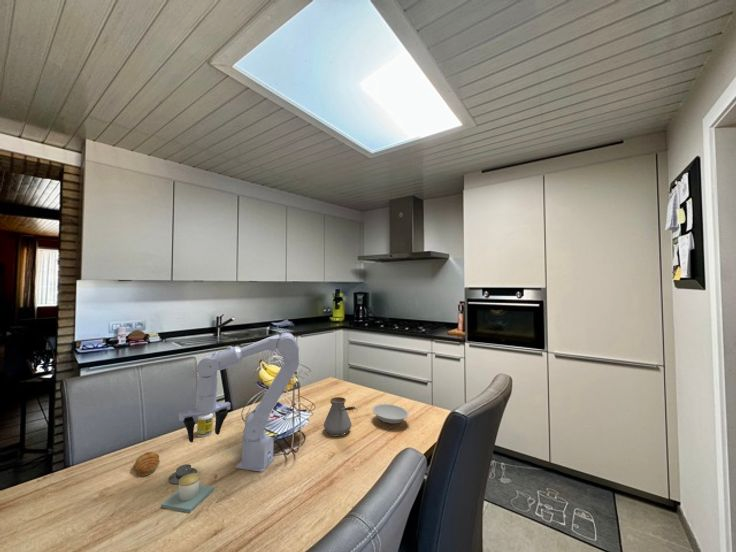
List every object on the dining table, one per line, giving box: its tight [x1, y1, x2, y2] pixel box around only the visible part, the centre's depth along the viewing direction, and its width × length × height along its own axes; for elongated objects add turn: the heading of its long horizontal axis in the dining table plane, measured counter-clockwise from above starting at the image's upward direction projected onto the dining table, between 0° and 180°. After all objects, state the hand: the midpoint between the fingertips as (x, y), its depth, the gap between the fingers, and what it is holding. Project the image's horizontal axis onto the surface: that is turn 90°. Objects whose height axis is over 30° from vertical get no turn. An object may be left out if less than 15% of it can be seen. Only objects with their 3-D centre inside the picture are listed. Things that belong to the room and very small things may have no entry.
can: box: [178, 472, 200, 501], centre depth 83 cm, size 5×5×4 cm
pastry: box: [133, 451, 161, 477], centre depth 96 cm, size 9×7×4 cm
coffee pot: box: [323, 396, 358, 436], centre depth 120 cm, size 21×12×15 cm, turn 29°
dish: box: [372, 403, 409, 425], centre depth 133 cm, size 18×14×5 cm
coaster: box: [160, 484, 215, 514], centre depth 83 cm, size 9×9×1 cm
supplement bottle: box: [196, 413, 214, 438], centre depth 120 cm, size 5×5×10 cm
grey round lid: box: [168, 463, 199, 485], centre depth 93 cm, size 8×8×2 cm
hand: (204, 437), depth 96 cm, fingers open, 7 cm apart
